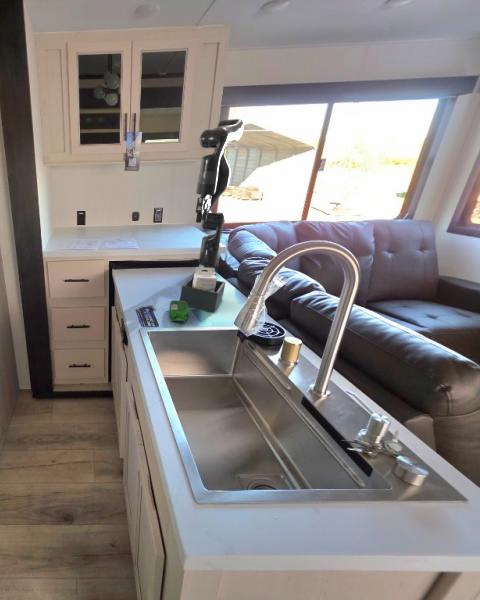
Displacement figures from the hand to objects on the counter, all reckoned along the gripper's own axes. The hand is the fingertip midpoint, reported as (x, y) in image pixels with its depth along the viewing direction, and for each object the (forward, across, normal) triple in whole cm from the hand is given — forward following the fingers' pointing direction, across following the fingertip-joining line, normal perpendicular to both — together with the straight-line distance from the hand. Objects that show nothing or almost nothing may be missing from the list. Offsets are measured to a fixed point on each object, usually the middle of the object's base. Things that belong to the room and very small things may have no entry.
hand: (201, 221), depth 139 cm
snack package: (+33, -32, -4) cm, 46 cm away
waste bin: (+33, -12, -8) cm, 36 cm away
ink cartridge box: (+32, -12, -8) cm, 36 cm away
